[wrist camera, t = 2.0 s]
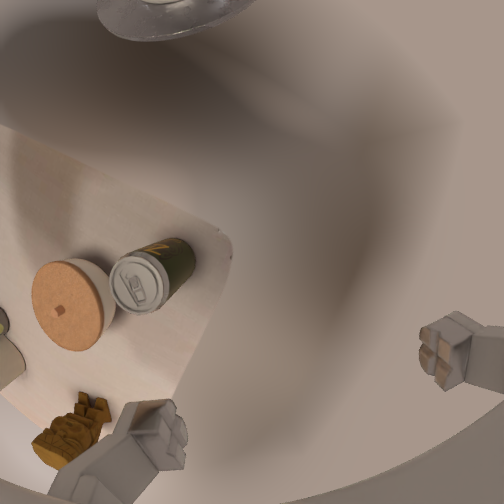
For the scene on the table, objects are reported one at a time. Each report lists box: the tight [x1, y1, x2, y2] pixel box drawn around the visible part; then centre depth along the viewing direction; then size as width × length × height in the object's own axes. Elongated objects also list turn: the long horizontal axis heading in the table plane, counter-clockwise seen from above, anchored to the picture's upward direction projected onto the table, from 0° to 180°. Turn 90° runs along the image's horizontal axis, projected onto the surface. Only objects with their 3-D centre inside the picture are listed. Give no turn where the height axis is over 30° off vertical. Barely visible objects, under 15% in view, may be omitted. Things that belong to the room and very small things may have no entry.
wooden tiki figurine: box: [31, 392, 112, 471], centre depth 31 cm, size 7×6×15 cm
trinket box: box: [32, 259, 116, 351], centre depth 30 cm, size 11×11×9 cm
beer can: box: [109, 238, 195, 315], centre depth 28 cm, size 5×5×12 cm
